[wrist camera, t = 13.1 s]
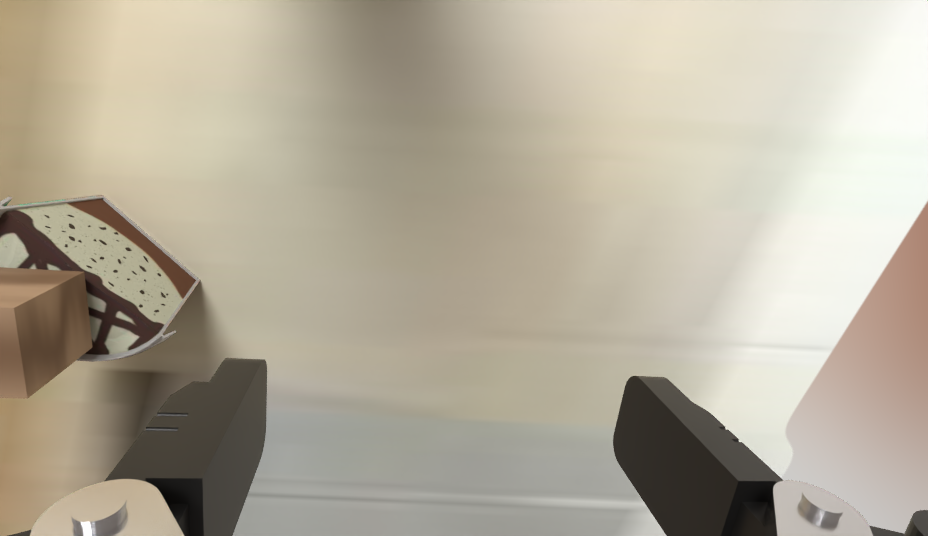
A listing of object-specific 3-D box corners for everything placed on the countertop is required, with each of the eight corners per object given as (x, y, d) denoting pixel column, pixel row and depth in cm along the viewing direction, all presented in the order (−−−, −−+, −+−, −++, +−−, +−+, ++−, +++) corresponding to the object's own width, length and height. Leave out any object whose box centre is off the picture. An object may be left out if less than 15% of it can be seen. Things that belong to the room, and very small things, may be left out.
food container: (29, 233, 38) (-89, 272, 29) (85, 180, 38) (-16, 201, 28) (162, 339, 42) (97, 404, 32) (214, 292, 41) (163, 344, 32)
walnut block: (-11, 266, 29) (-107, 303, 23) (84, 271, 30) (13, 308, 24) (2, 344, 31) (-86, 396, 25) (92, 347, 31) (27, 398, 26)
